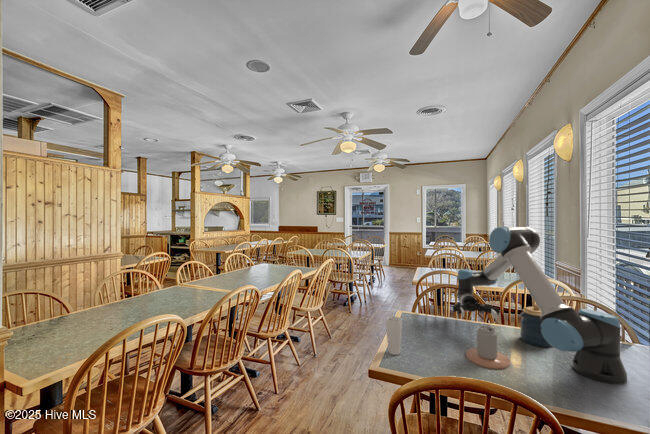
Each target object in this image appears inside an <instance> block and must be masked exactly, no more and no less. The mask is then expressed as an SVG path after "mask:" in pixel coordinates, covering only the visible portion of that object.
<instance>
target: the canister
mask: <svg viewBox="0 0 650 434" xmlns="http://www.w3.org/2000/svg"><path fill="white" fill-rule="evenodd" d="M521 311H522V312H521V313H520V314H519V315H520V317H521V319H520V339H521V340H522V341H523V342H524V343H526V344H528V345H532V346H535V347H540V348H541V347H542V348H550V347H551V348H552V346H551V345H550V344H549V343H548V342H547V341H546V340H545V338H544V337H543V335H542V333H541V329H542V328H541V323H542V320H541V319H540V317H541V314H542V312H541V311H540V309H539V308H538V306H537V304H536V303H535V304H533V306H527V307H525V308H522V310H521Z"/></svg>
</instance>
